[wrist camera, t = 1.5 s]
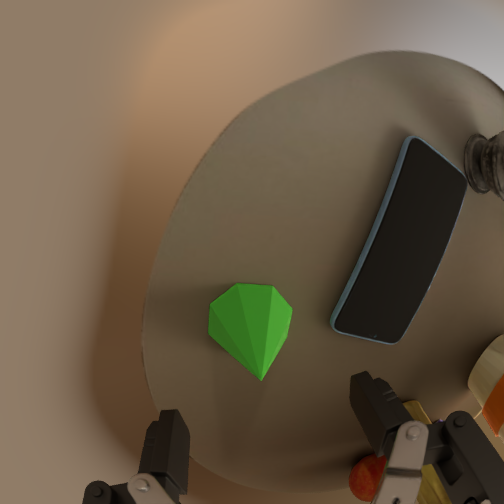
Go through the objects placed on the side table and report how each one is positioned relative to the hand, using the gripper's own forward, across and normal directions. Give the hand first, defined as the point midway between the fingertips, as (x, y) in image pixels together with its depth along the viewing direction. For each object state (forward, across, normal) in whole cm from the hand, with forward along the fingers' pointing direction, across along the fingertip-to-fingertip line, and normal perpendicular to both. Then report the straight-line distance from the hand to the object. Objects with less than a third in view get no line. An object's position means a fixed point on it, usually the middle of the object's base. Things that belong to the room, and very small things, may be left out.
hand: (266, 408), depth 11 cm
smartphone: (+8, -12, -3) cm, 15 cm away
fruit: (+8, -11, +26) cm, 29 cm away
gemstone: (+8, 0, 0) cm, 8 cm away
